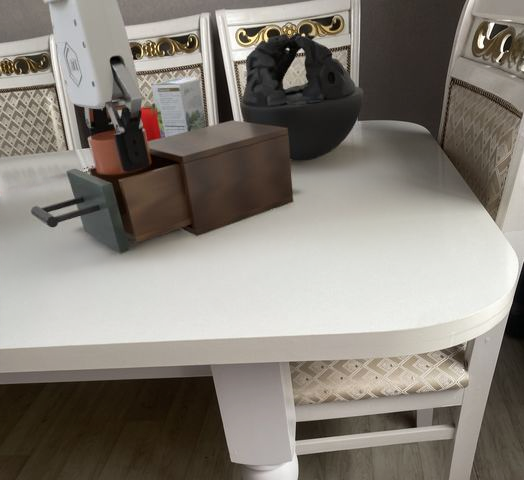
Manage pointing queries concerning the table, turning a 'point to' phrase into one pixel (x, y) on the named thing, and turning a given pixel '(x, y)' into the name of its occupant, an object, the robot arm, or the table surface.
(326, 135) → the black sculpted bowl
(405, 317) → the table surface
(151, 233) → the drawer
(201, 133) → the cabinet
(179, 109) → the syrup box
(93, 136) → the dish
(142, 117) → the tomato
